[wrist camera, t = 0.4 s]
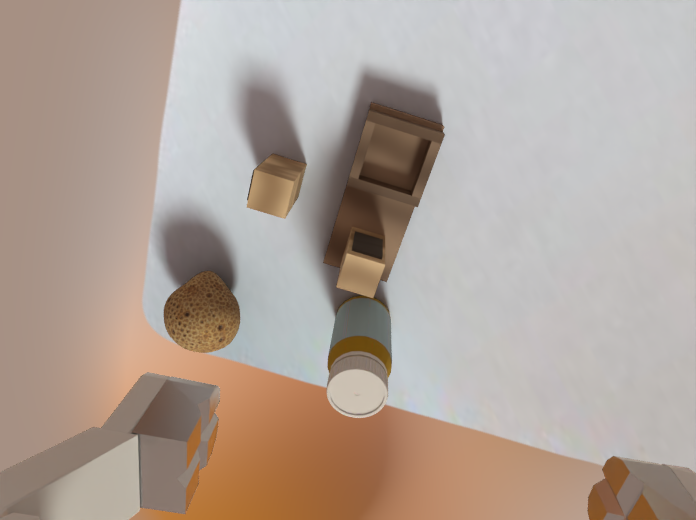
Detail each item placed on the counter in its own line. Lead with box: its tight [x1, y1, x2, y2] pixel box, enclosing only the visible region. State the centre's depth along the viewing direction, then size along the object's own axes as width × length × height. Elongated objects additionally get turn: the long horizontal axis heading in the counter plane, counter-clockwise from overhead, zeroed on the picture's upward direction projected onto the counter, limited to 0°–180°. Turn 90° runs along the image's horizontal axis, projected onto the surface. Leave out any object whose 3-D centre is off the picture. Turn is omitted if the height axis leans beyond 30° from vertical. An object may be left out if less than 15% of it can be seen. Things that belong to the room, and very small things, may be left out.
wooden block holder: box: [323, 102, 445, 298], centre depth 49 cm, size 19×8×10 cm, turn 163°
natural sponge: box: [164, 271, 240, 353], centre depth 56 cm, size 9×9×10 cm
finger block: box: [247, 154, 307, 219], centre depth 50 cm, size 4×4×8 cm
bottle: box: [327, 296, 392, 418], centre depth 53 cm, size 7×7×15 cm
